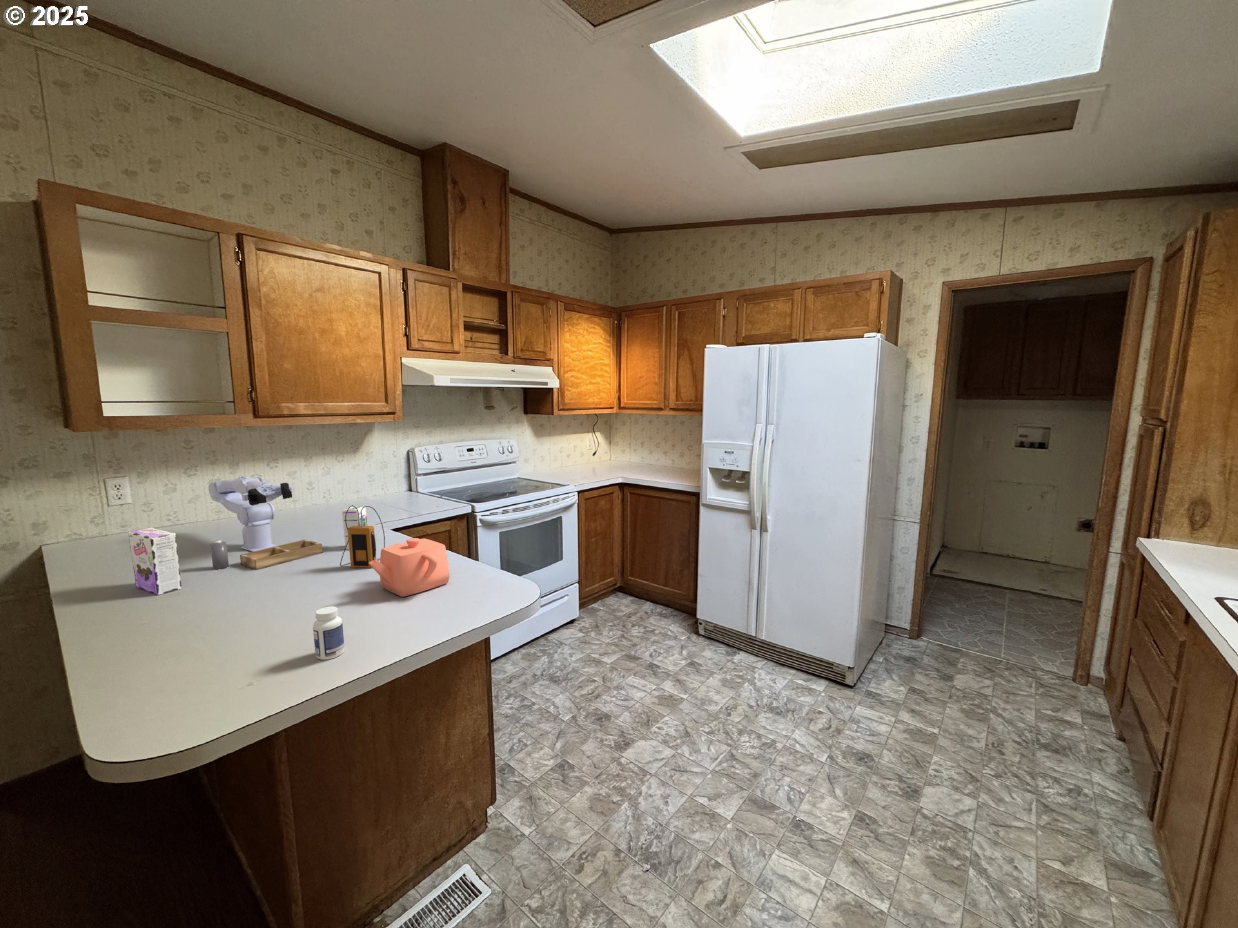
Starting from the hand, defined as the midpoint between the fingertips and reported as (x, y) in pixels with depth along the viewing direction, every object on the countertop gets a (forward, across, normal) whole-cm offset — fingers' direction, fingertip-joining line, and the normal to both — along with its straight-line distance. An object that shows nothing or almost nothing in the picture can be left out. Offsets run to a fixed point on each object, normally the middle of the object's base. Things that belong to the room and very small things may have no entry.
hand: (278, 497), depth 170 cm
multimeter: (+30, +13, +20) cm, 39 cm away
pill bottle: (+81, -23, +15) cm, 86 cm away
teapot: (+61, +7, +18) cm, 64 cm away
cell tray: (+1, -2, +21) cm, 21 cm away
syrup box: (+10, +19, +22) cm, 30 cm away
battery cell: (-4, -17, +20) cm, 27 cm away
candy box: (+2, -34, +19) cm, 39 cm away
